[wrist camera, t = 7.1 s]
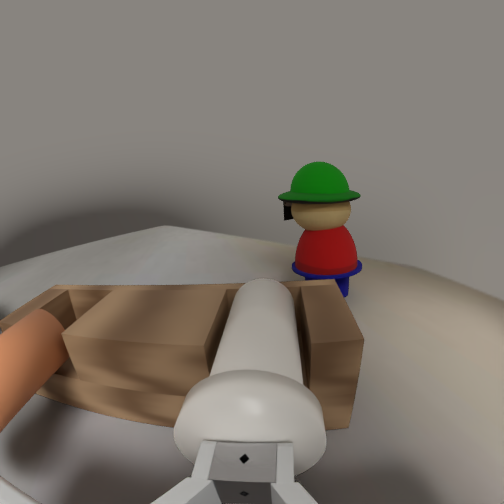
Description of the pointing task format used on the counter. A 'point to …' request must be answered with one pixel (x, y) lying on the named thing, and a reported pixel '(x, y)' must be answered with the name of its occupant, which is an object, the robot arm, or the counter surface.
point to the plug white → (255, 383)
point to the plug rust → (28, 360)
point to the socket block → (184, 346)
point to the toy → (322, 224)
